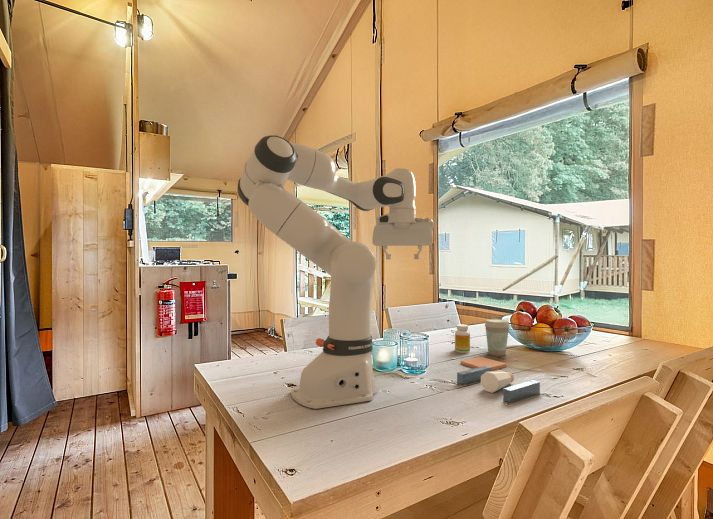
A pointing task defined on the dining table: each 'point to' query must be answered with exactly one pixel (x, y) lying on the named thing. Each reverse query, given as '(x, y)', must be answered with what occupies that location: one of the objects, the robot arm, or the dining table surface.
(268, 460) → the dining table surface
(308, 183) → the robot arm
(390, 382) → the dining table surface
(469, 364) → the mat
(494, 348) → the coffee cup
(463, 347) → the supplement bottle
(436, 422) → the dining table surface
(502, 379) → the pepper shaker
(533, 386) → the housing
